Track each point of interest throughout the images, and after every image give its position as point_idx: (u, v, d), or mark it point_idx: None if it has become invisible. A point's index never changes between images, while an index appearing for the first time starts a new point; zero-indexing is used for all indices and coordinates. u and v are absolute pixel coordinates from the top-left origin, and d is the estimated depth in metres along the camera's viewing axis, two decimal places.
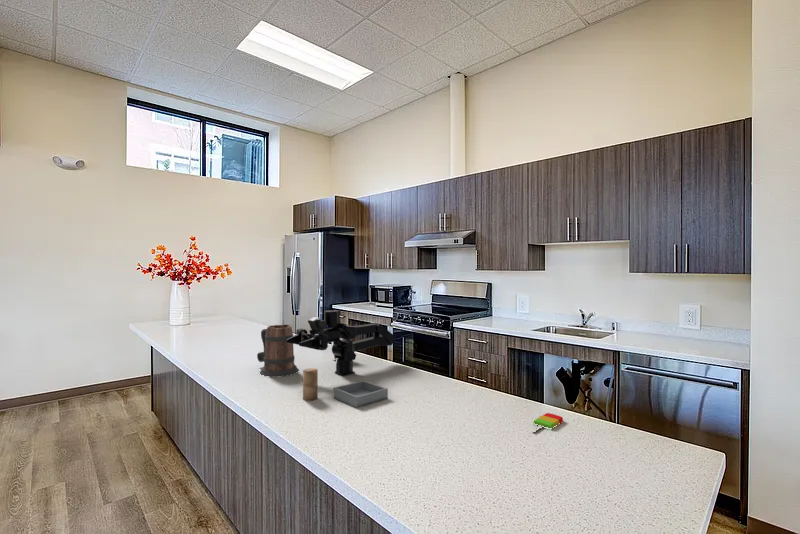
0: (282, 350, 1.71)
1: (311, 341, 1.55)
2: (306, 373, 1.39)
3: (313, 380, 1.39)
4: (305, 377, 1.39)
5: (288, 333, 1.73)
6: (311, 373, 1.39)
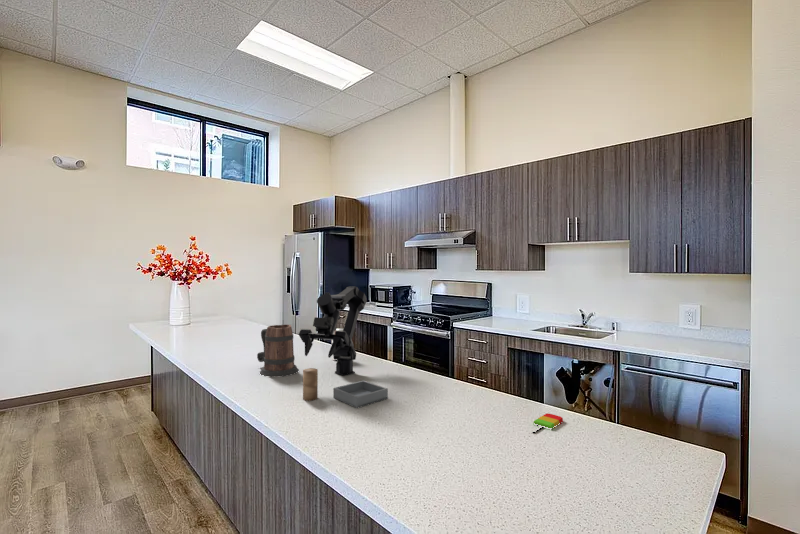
0: (282, 350, 1.71)
1: (335, 345, 1.48)
2: (306, 373, 1.39)
3: (313, 380, 1.39)
4: (305, 377, 1.39)
5: (288, 333, 1.73)
6: (311, 373, 1.39)
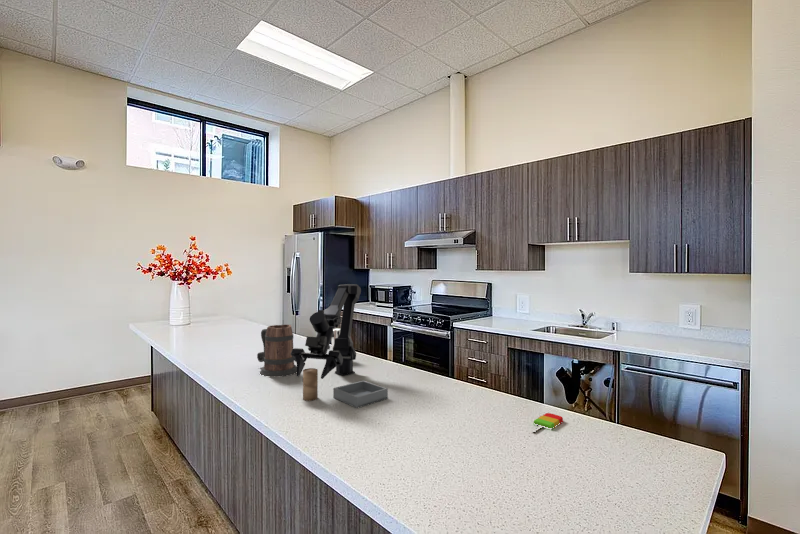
0: (282, 350, 1.71)
1: (328, 366, 1.42)
2: (306, 373, 1.39)
3: (313, 380, 1.39)
4: (305, 377, 1.39)
5: (288, 333, 1.73)
6: (311, 373, 1.39)
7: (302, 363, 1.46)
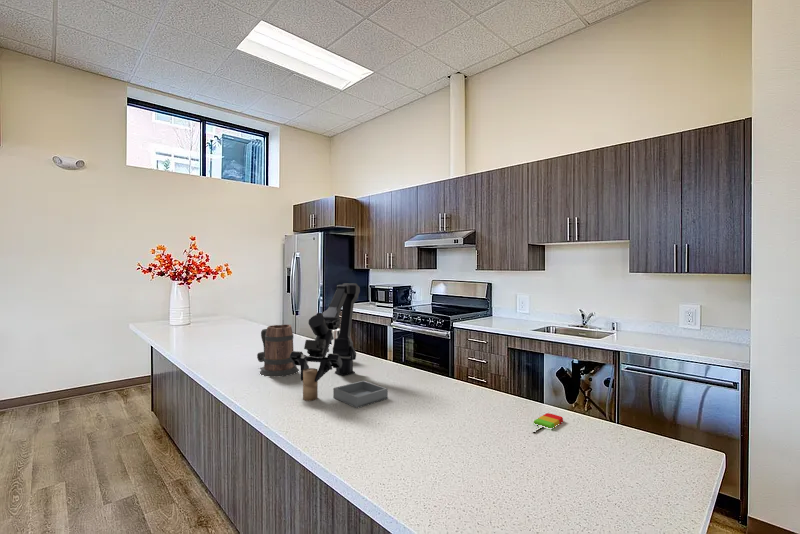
0: (282, 350, 1.71)
1: (322, 369, 1.42)
2: (306, 373, 1.39)
3: (313, 380, 1.39)
4: (305, 377, 1.39)
5: (288, 333, 1.73)
6: (311, 373, 1.39)
7: (306, 367, 1.45)
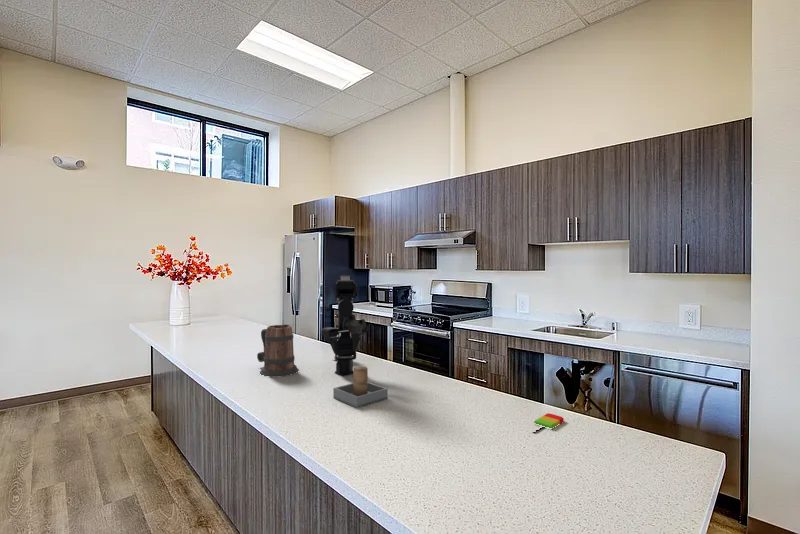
0: (282, 350, 1.71)
1: None
2: (361, 371, 1.39)
3: (366, 378, 1.41)
4: (359, 375, 1.39)
5: (288, 333, 1.73)
6: (365, 371, 1.40)
7: None
